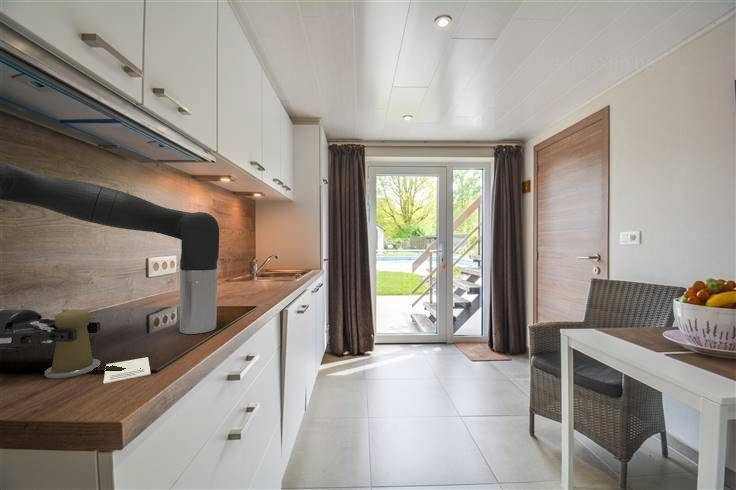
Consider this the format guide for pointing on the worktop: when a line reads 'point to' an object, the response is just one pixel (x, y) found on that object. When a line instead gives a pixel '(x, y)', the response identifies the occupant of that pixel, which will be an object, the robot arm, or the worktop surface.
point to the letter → (128, 370)
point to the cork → (73, 343)
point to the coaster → (74, 373)
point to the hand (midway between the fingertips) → (87, 331)
